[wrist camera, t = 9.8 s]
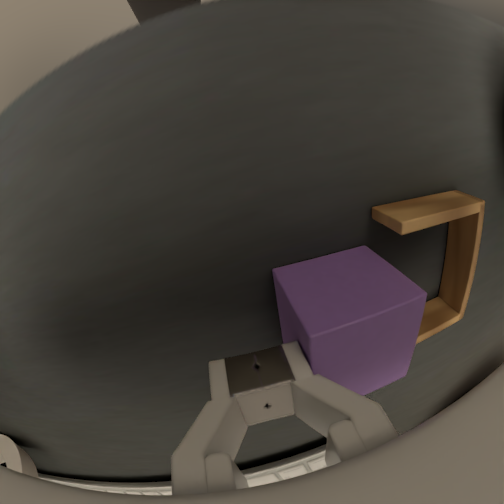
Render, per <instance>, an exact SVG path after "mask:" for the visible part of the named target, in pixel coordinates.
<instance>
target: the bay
mask: <svg viewBox="0 0 504 504" xmlns="http://www.w3.org/2000/svg"><path fill="white" fill-rule="evenodd" d="M484 207H485V201H484V200H482V199H479V198H477V197H474V196H471V195H469V194H466V193H463V192H460V191H458V190H454V191H449V192H443V193H438V194H433V195H428V196H423V197H418V198H414V199H409V200H404V201H399V202H394V203H389V204H385V205H380V206H375V207H372V219H374V220H376V221H378V222H379V223H381V224H383V225H385V226H387V227H388V228H390V229H392V230H393V231H395V232H397V233H399V234H400V235H404V234H408V233H411V232H415V231H418V230H422V229H425V228H428V227H432V226H435V225H439V224H442V223H445V222H449V228H448V238H447V247H446V254H445V261H444V268H443V274H442V280H441V285H440V290H439V295H438V297H436V298H434V299H432V300H430V301H428V302H426V303H425V307H424V312H423V317H422V321H421V325H420V329H419V333H418V337H417V341H416V344H417V343H419V342H421V341H423V340H425V339H426V338H428V337H430V336H432V335H434V334H436V333H438V332H439V331H441V330H443V329H445V328H446V327H448V326H450V325H452V324H453V323H455V322H457V321H458V320H460V319H462V318H463V315H464V312H465V308H466V305H467V301H468V298H469V294H470V290H471V286H472V282H473V277H474V273H475V268H476V263H477V258H478V252H479V247H480V240H481V233H482V226H483V217H484Z"/></svg>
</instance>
